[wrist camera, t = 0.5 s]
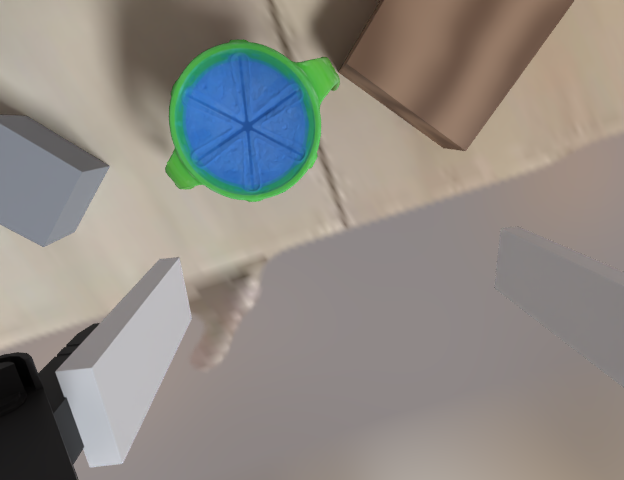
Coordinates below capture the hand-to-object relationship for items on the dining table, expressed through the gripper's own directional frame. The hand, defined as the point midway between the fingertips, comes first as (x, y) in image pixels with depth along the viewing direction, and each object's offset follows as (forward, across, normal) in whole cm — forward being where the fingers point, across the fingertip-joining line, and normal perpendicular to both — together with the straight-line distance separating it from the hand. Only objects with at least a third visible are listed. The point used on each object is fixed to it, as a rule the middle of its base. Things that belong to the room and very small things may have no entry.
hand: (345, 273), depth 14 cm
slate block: (+23, -25, +3) cm, 34 cm away
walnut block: (+23, +14, +13) cm, 30 cm away
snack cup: (+23, -4, +6) cm, 24 cm away
